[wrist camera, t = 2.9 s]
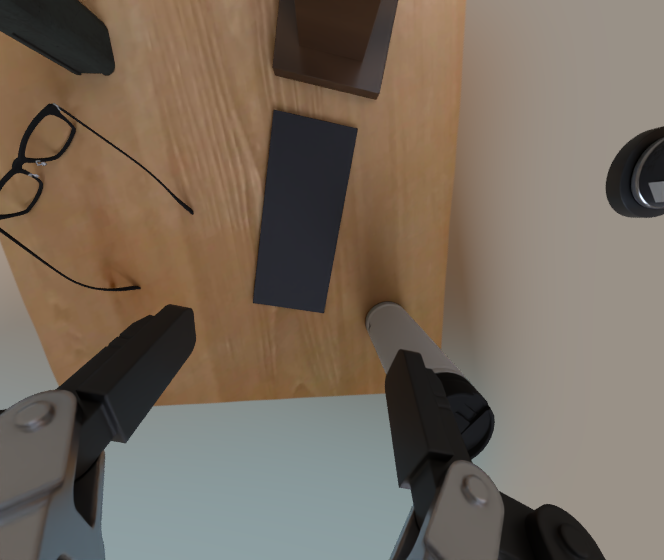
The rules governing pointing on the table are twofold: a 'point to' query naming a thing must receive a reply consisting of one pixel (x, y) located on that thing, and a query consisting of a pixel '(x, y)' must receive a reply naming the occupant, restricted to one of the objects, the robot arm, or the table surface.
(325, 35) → the pedestal
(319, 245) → the mat
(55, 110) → the eyeglasses
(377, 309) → the travel mug
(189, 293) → the table surface
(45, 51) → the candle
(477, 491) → the robot arm
